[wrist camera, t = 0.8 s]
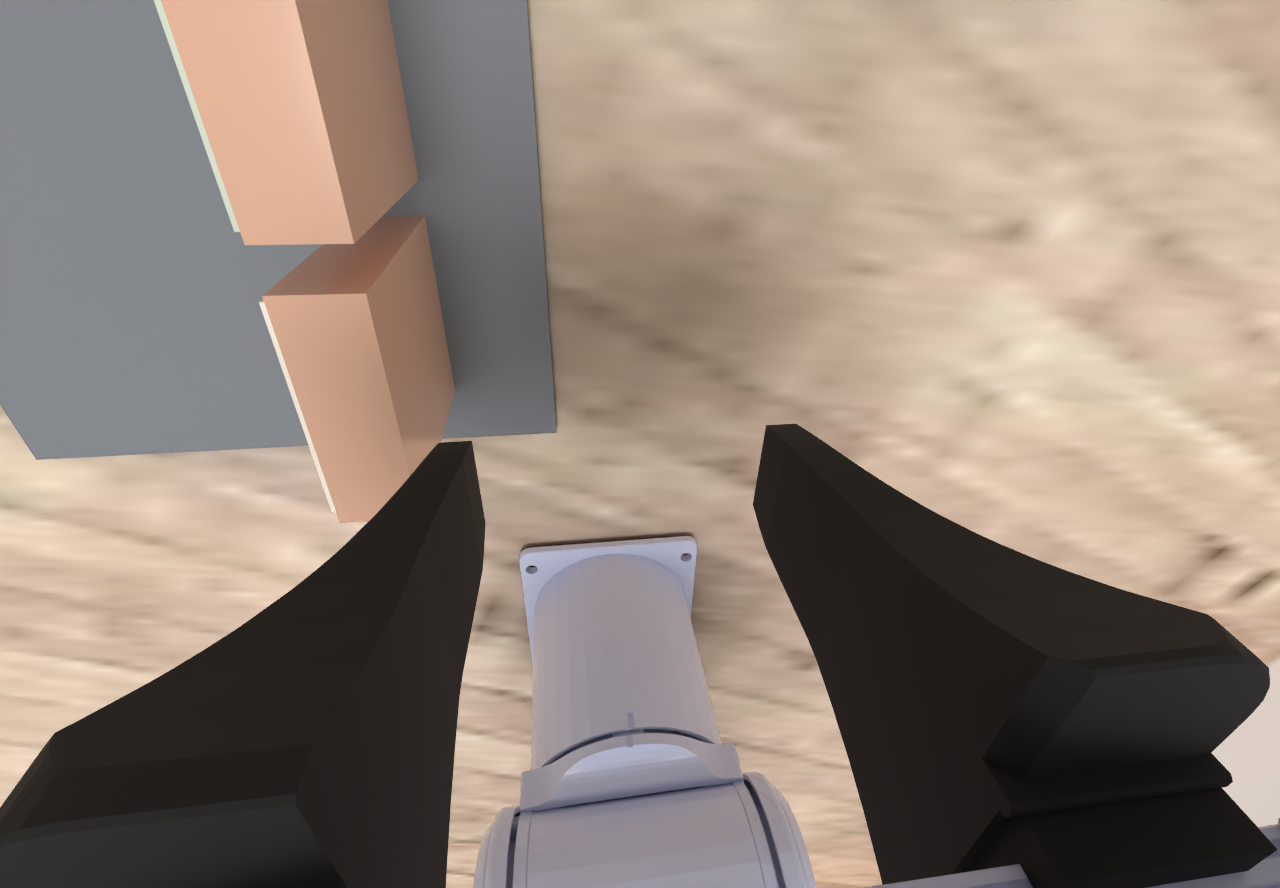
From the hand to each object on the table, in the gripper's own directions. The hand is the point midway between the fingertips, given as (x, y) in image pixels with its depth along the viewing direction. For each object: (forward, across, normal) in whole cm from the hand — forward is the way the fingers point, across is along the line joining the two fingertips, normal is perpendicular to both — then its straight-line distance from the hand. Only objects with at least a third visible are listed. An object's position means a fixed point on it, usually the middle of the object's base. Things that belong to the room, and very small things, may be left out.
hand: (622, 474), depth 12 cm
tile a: (+10, +6, 0) cm, 12 cm away
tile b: (+10, +6, -7) cm, 14 cm away
